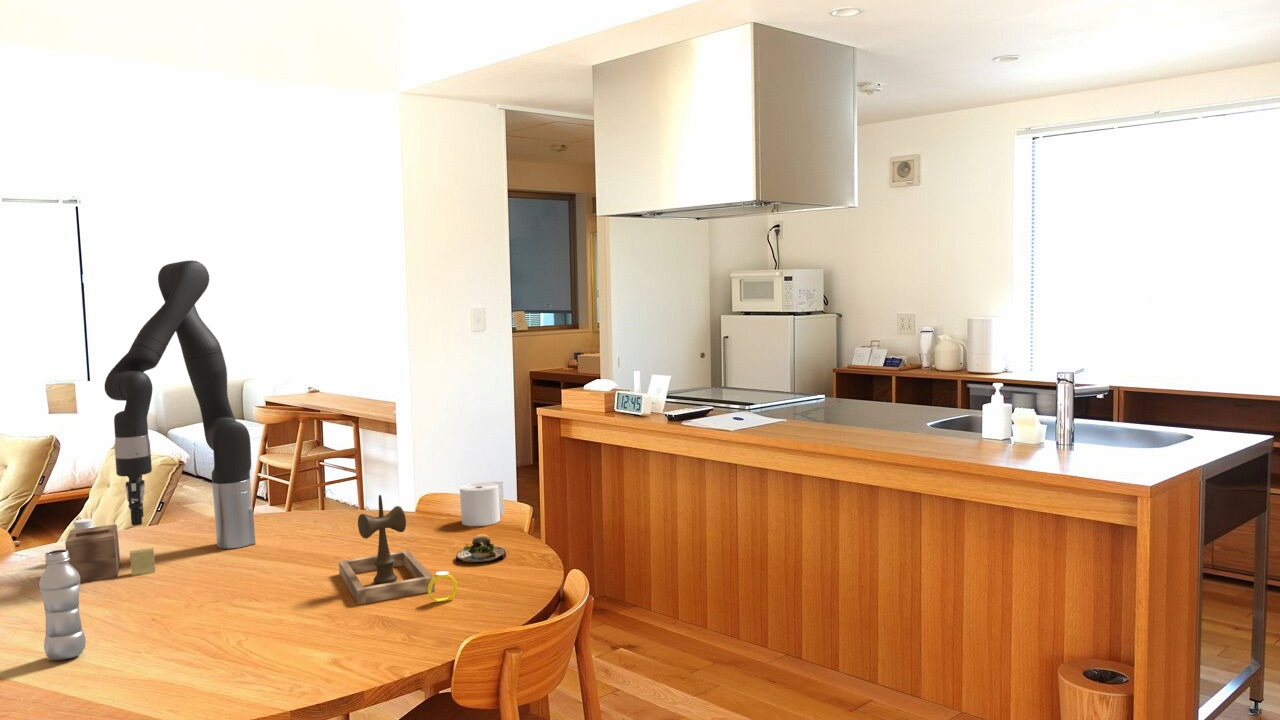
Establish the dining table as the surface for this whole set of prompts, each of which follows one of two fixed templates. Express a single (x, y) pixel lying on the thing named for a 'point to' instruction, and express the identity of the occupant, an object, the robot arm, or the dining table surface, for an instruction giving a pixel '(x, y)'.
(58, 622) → the plastic bottle
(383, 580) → the kendama
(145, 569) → the yellow wooden block
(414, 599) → the dining table surface
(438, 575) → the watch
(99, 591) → the dining table surface
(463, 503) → the toilet tissue
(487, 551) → the burger
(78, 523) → the supplement bottle
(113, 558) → the walnut tissue box
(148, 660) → the dining table surface
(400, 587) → the wooden frame
